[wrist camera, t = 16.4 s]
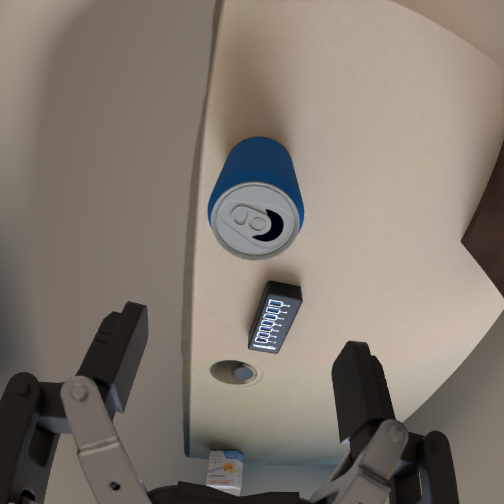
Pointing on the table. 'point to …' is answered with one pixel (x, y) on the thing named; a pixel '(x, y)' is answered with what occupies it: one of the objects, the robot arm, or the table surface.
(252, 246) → the beverage can
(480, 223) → the bin
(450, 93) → the table surface
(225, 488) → the white cardboard box
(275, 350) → the multiport hub
